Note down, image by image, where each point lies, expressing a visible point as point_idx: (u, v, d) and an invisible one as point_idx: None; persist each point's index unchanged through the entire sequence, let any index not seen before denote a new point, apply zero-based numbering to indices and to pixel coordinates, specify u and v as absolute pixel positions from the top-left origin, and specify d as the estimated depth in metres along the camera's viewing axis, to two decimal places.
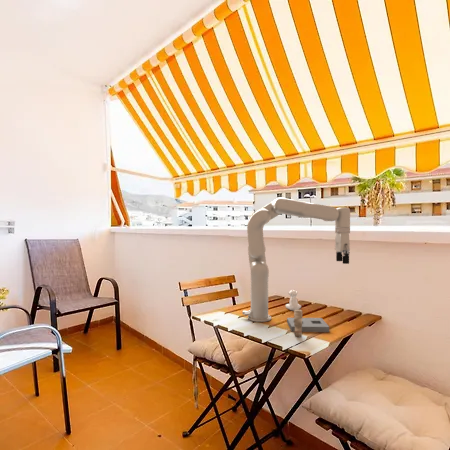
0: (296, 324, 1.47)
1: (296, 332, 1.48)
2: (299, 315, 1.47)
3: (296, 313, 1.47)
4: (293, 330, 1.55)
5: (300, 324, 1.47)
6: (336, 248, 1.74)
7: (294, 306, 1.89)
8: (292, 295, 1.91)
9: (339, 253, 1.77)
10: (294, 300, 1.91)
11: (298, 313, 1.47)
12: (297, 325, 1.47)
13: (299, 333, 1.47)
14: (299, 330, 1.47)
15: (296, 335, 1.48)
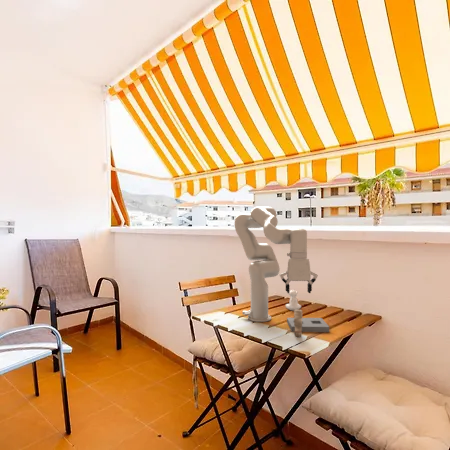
0: (296, 324, 1.47)
1: (296, 332, 1.48)
2: (299, 315, 1.47)
3: (296, 313, 1.47)
4: (293, 330, 1.55)
5: (300, 324, 1.47)
6: (296, 277, 1.45)
7: (294, 306, 1.89)
8: (292, 295, 1.91)
9: None
10: (294, 300, 1.91)
11: (298, 313, 1.47)
12: (297, 325, 1.47)
13: (299, 333, 1.47)
14: (299, 330, 1.47)
15: (296, 335, 1.48)
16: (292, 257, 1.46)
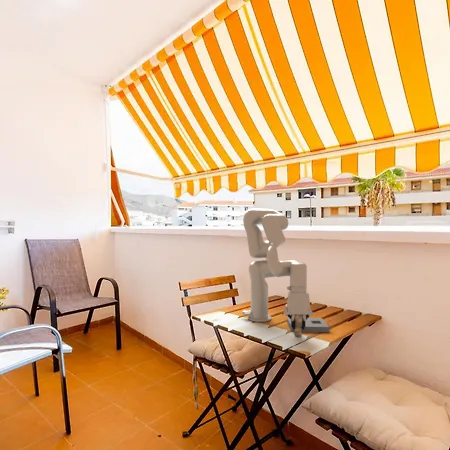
0: (296, 324, 1.47)
1: (296, 332, 1.48)
2: (299, 315, 1.47)
3: None
4: (293, 330, 1.55)
5: (300, 324, 1.47)
6: (296, 311, 1.46)
7: None
8: None
9: (293, 319, 1.49)
10: None
11: None
12: (297, 325, 1.47)
13: (299, 333, 1.47)
14: (299, 330, 1.47)
15: (296, 335, 1.48)
16: (292, 291, 1.46)
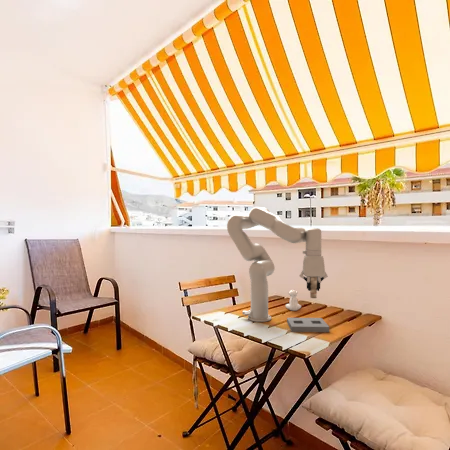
0: (311, 286, 1.57)
1: (311, 293, 1.58)
2: (314, 277, 1.57)
3: None
4: (293, 330, 1.55)
5: (315, 286, 1.57)
6: (311, 273, 1.56)
7: (294, 306, 1.89)
8: (292, 295, 1.91)
9: None
10: (294, 300, 1.91)
11: None
12: (312, 287, 1.57)
13: (314, 294, 1.57)
14: (314, 291, 1.57)
15: (311, 296, 1.58)
16: (307, 254, 1.56)
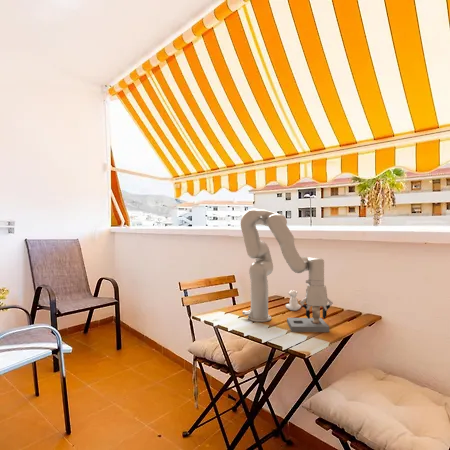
0: (314, 316, 1.60)
1: (314, 323, 1.60)
2: (317, 307, 1.59)
3: (314, 306, 1.60)
4: (293, 330, 1.55)
5: (318, 316, 1.59)
6: (314, 303, 1.58)
7: (294, 306, 1.89)
8: (292, 295, 1.91)
9: (308, 309, 1.61)
10: (294, 300, 1.91)
11: (316, 306, 1.59)
12: (315, 317, 1.59)
13: None
14: (317, 321, 1.60)
15: None
16: (310, 284, 1.59)
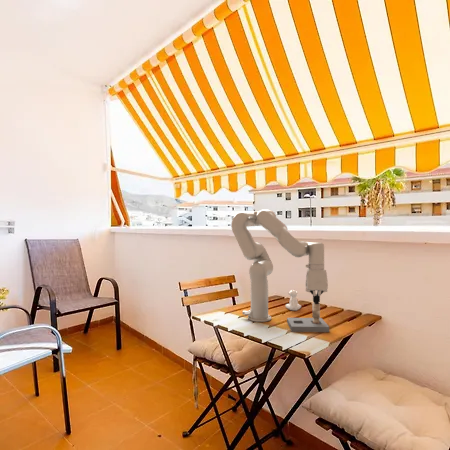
0: (314, 316, 1.60)
1: (314, 323, 1.60)
2: (317, 307, 1.59)
3: (314, 306, 1.60)
4: (293, 330, 1.55)
5: (318, 316, 1.59)
6: (315, 287, 1.58)
7: (294, 306, 1.89)
8: (292, 295, 1.91)
9: (315, 294, 1.61)
10: (294, 300, 1.91)
11: (316, 306, 1.59)
12: (315, 317, 1.59)
13: None
14: (317, 321, 1.60)
15: None
16: (310, 268, 1.59)
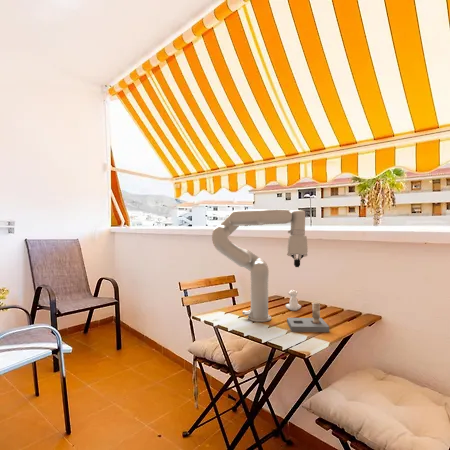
0: (314, 316, 1.60)
1: (314, 323, 1.60)
2: (317, 307, 1.59)
3: (314, 306, 1.60)
4: (293, 330, 1.55)
5: (318, 316, 1.59)
6: (295, 251, 1.70)
7: (294, 306, 1.89)
8: (292, 295, 1.91)
9: None
10: (294, 300, 1.91)
11: (316, 306, 1.59)
12: (315, 317, 1.59)
13: None
14: (317, 321, 1.60)
15: None
16: (292, 234, 1.71)
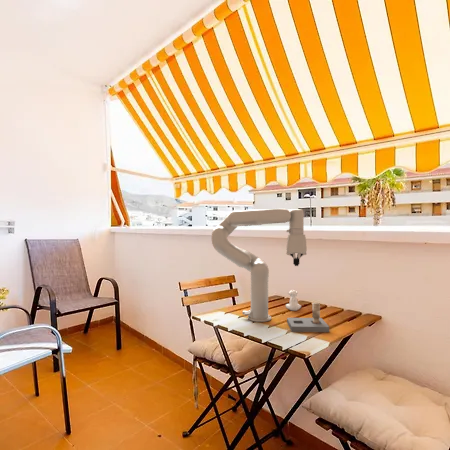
0: (314, 316, 1.60)
1: (314, 323, 1.60)
2: (317, 307, 1.59)
3: (314, 306, 1.60)
4: (293, 330, 1.55)
5: (318, 316, 1.59)
6: (294, 250, 1.71)
7: (294, 306, 1.89)
8: (292, 295, 1.91)
9: (295, 257, 1.74)
10: (294, 300, 1.91)
11: (316, 306, 1.59)
12: (315, 317, 1.59)
13: None
14: (317, 321, 1.60)
15: None
16: (291, 233, 1.72)
